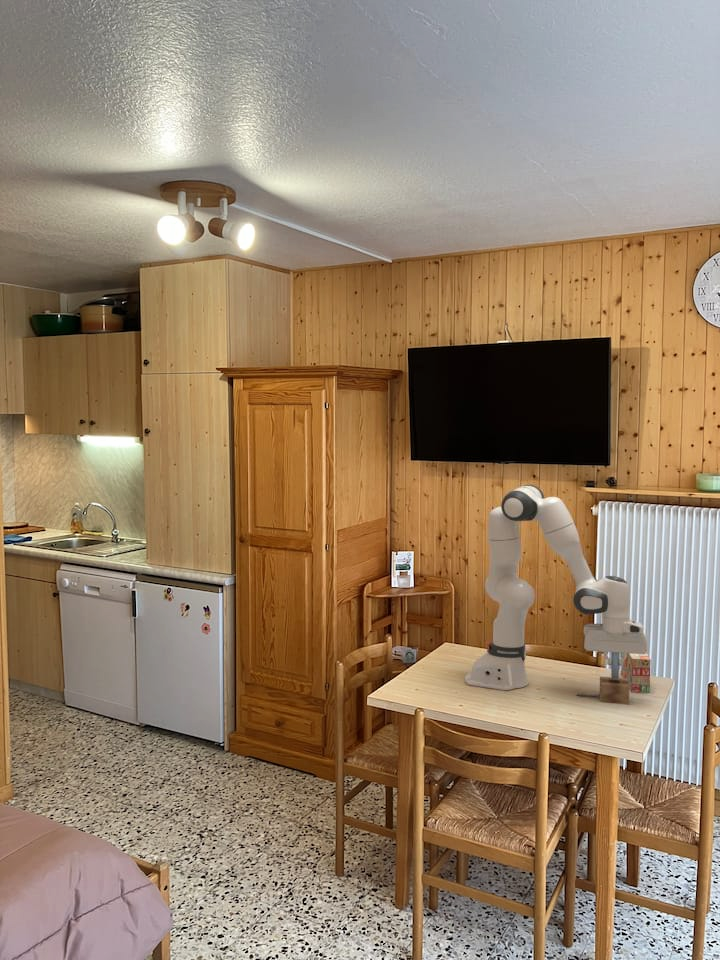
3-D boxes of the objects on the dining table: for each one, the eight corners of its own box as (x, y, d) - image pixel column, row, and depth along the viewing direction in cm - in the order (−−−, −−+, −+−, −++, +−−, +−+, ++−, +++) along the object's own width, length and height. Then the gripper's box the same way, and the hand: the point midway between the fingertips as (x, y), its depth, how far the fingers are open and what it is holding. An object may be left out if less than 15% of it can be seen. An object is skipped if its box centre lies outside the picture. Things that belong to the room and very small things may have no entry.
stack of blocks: (620, 674, 292) (621, 641, 292) (637, 675, 291) (638, 642, 291) (631, 692, 271) (632, 657, 270) (650, 693, 270) (650, 658, 270)
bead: (600, 701, 261) (600, 684, 261) (599, 693, 270) (599, 676, 270) (628, 704, 259) (629, 686, 259) (626, 695, 268) (627, 678, 267)
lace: (577, 695, 267) (577, 694, 267) (577, 695, 268) (577, 693, 268) (598, 697, 265) (598, 696, 265) (598, 697, 266) (598, 695, 266)
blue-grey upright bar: (611, 677, 263) (611, 645, 262) (611, 675, 265) (611, 643, 265) (618, 678, 262) (619, 646, 262) (618, 676, 265) (618, 644, 264)
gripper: (583, 625, 262) (583, 665, 263) (648, 628, 257) (647, 669, 258) (583, 620, 269) (583, 660, 269) (646, 623, 263) (645, 664, 264)
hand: (615, 664), depth 264 cm, fingers closed on blue-grey upright bar, 2 cm apart
